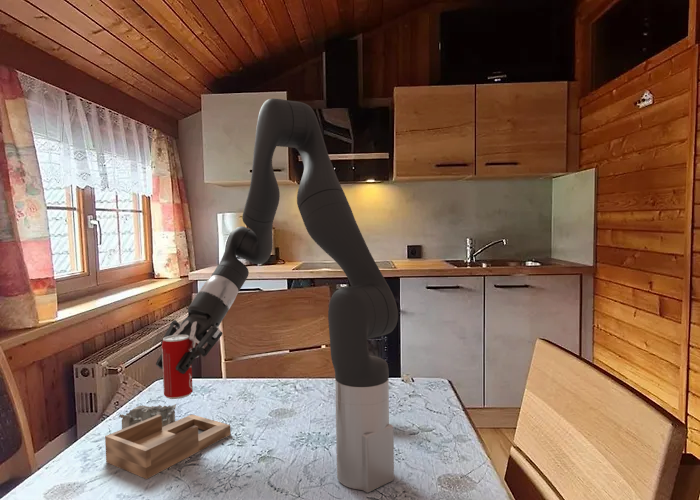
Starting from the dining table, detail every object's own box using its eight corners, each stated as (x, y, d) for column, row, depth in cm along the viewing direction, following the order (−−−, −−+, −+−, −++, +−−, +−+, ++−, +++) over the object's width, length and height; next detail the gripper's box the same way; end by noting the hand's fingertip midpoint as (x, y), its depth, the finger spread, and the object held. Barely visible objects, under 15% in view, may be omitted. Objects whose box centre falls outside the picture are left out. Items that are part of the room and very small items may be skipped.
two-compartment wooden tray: (230, 434, 98) (230, 411, 98) (146, 479, 81) (145, 451, 81) (192, 423, 104) (191, 401, 104) (106, 462, 87) (105, 436, 87)
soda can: (195, 396, 93) (192, 336, 92) (166, 401, 90) (163, 340, 90) (190, 388, 98) (187, 331, 97) (162, 393, 95) (159, 335, 94)
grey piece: (117, 433, 100) (116, 415, 100) (134, 419, 108) (133, 402, 108) (165, 433, 100) (164, 414, 100) (179, 418, 108) (178, 401, 107)
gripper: (181, 288, 103) (134, 355, 93) (227, 291, 95) (181, 364, 86) (201, 308, 108) (158, 373, 98) (247, 313, 100) (205, 384, 91)
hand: (169, 369), depth 92 cm, fingers closed on soda can, 5 cm apart
